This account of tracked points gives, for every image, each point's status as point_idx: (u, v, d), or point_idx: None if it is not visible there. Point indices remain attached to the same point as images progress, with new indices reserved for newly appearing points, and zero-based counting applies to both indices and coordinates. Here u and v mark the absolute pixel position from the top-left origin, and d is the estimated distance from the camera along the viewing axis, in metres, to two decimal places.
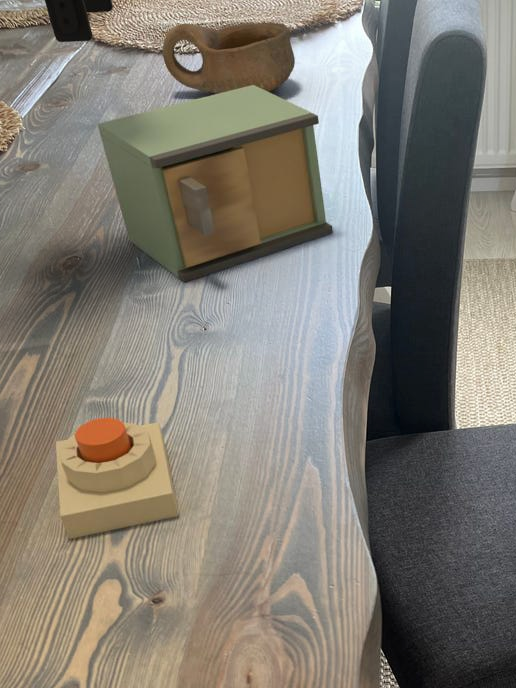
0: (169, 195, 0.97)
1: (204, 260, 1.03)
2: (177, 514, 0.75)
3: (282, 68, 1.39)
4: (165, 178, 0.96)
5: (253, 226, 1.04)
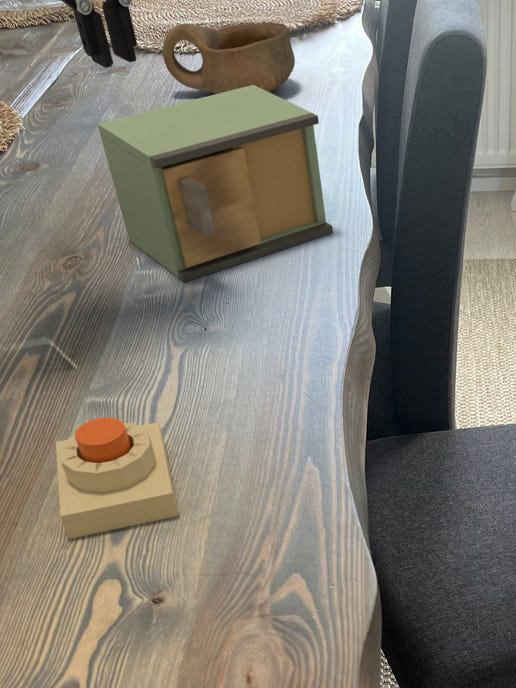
0: (169, 195, 0.97)
1: (204, 260, 1.03)
2: (177, 514, 0.75)
3: (282, 68, 1.39)
4: (165, 178, 0.96)
5: (253, 226, 1.04)
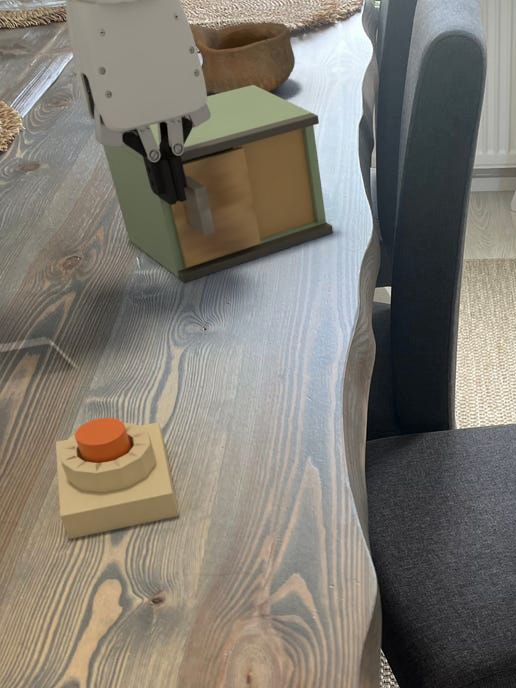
0: None
1: (204, 260, 1.03)
2: (177, 514, 0.75)
3: (282, 68, 1.39)
4: None
5: (253, 226, 1.04)
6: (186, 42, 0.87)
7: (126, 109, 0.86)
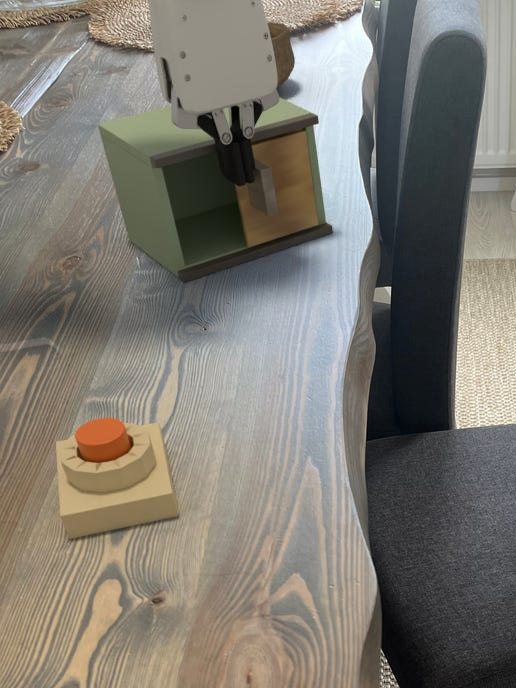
0: None
1: (265, 240, 1.06)
2: (177, 514, 0.75)
3: (282, 68, 1.39)
4: None
5: (312, 207, 1.07)
6: (261, 28, 0.90)
7: (203, 92, 0.90)
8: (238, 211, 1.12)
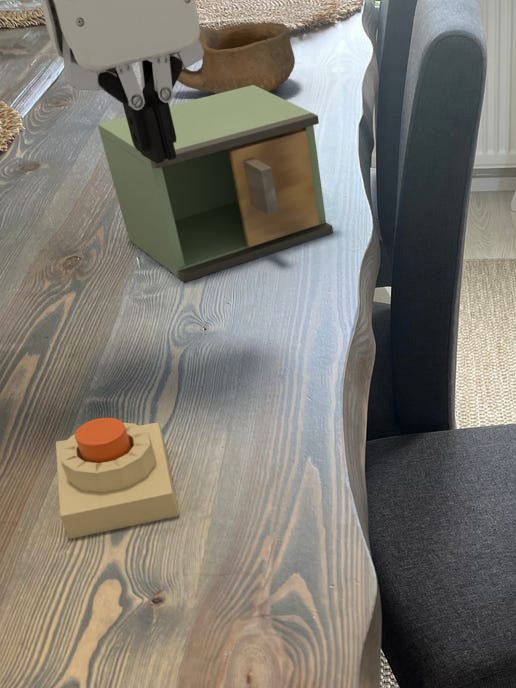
0: (234, 176, 1.00)
1: (265, 240, 1.06)
2: (177, 514, 0.75)
3: (282, 68, 1.39)
4: (231, 159, 0.99)
5: (312, 207, 1.07)
6: None
7: (102, 42, 0.71)
8: (238, 211, 1.12)
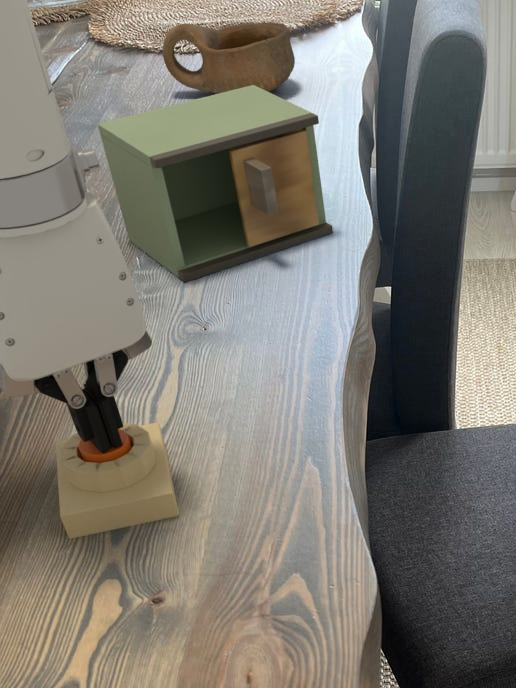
0: (234, 176, 1.00)
1: (265, 240, 1.06)
2: (177, 514, 0.75)
3: (282, 68, 1.39)
4: (231, 159, 0.99)
5: (312, 207, 1.07)
6: (115, 268, 0.66)
7: (36, 356, 0.66)
8: (238, 211, 1.12)
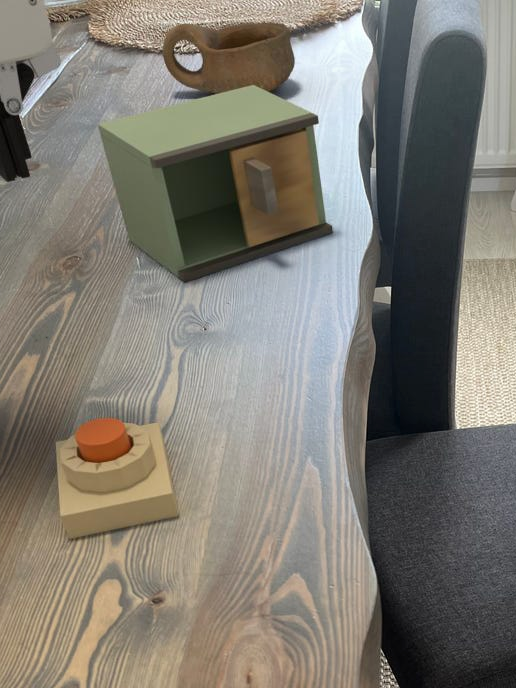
0: (234, 176, 1.00)
1: (265, 240, 1.06)
2: (177, 514, 0.75)
3: (282, 68, 1.39)
4: (231, 159, 0.99)
5: (312, 207, 1.07)
6: None
7: None
8: (238, 211, 1.12)
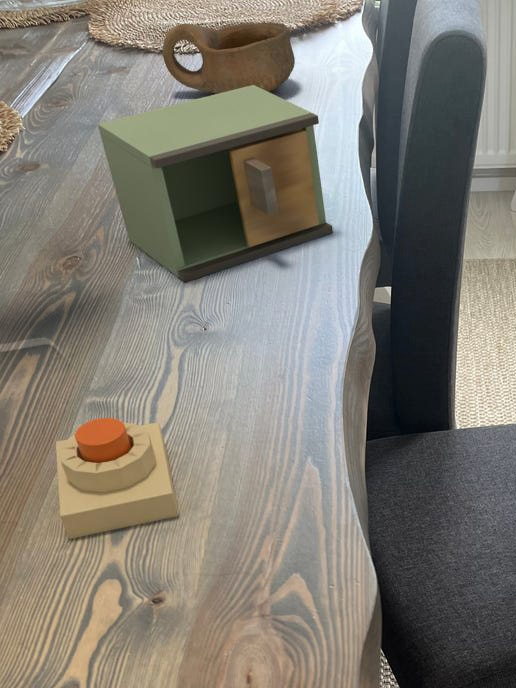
0: (234, 176, 1.00)
1: (265, 240, 1.06)
2: (177, 514, 0.75)
3: (282, 68, 1.39)
4: (231, 159, 0.99)
5: (312, 207, 1.07)
6: None
7: None
8: (238, 211, 1.12)
